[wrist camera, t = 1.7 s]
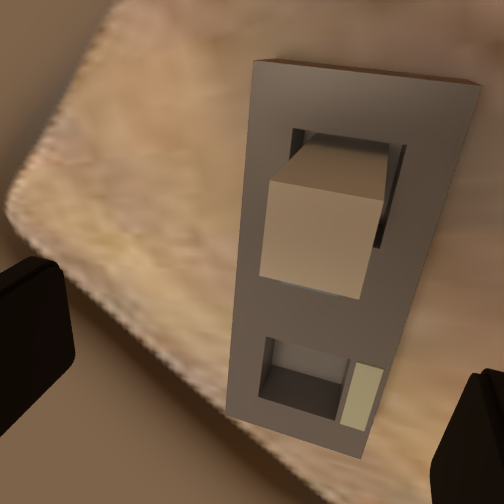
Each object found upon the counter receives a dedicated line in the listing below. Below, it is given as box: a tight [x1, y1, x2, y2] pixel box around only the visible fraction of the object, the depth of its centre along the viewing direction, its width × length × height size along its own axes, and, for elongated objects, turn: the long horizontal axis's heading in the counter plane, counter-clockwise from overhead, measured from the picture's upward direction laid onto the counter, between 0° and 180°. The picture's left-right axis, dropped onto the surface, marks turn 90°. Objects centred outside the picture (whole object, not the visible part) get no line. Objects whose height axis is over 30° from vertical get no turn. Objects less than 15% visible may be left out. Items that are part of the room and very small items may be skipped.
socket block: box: [225, 59, 482, 459], centre depth 25 cm, size 10×24×4 cm, turn 175°
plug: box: [259, 133, 389, 300], centre depth 20 cm, size 4×5×10 cm
